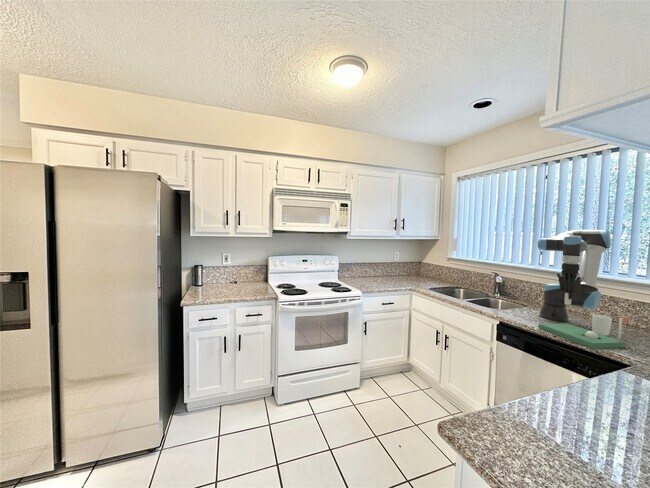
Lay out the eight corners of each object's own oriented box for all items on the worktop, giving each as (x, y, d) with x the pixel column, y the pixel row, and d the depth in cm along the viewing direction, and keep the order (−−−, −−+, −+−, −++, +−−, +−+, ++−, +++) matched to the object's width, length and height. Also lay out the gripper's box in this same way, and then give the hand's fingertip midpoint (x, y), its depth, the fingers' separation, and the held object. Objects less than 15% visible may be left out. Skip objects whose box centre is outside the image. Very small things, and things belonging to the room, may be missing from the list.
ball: (585, 340, 144) (592, 334, 144) (595, 344, 139) (602, 338, 139) (580, 333, 143) (587, 327, 143) (590, 337, 138) (597, 331, 138)
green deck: (570, 327, 162) (572, 303, 162) (629, 347, 135) (631, 318, 134) (538, 327, 159) (540, 303, 158) (592, 348, 131) (594, 319, 131)
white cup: (614, 336, 149) (616, 319, 149) (597, 335, 150) (599, 317, 150) (602, 331, 157) (604, 314, 156) (587, 330, 158) (588, 313, 158)
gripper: (553, 261, 158) (550, 301, 159) (577, 264, 145) (574, 307, 146) (564, 261, 159) (561, 301, 160) (589, 264, 146) (585, 307, 147)
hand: (567, 304), depth 153 cm, fingers closed
